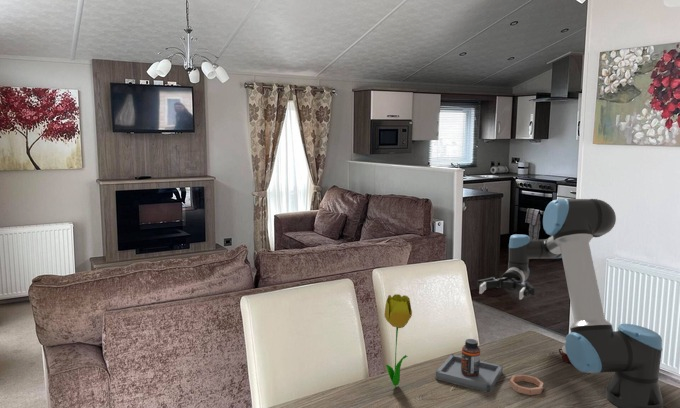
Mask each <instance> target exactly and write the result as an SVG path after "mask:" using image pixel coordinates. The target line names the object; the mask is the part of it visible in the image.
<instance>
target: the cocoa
mask: <svg viewBox="0 0 680 408" xmlns="http://www.w3.org/2000/svg"><path fill="white" fill-rule="evenodd" d="M558 352H559V354H560V355H561V357H562V359H563V360H564V362H565V363H568V364H572V363H571V362H570V360H569V358H568V356H567V353H566V349H565V344H564V345H563V346H562V348H559V349H558Z"/></svg>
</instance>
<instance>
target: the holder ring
mask: <svg viewBox="0 0 680 408" xmlns="http://www.w3.org/2000/svg"><path fill="white" fill-rule="evenodd" d="M518 382H528V383H532V384H534V385H535V386H537V387H526V386H522V385H519V384H518ZM509 387H510V388H511V389H512V390H514V391H515V392H517V393H520V394H524V395H529V396H534V395H540V394H542V393H543V390H544V382H543V381H542V380H540V379H539V378H538V377H536V376H533V375H532V376H531V375H528V374H517V375H512V376H511V378H510V379H509Z"/></svg>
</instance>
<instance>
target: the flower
mask: <svg viewBox="0 0 680 408" xmlns="http://www.w3.org/2000/svg"><path fill="white" fill-rule="evenodd" d="M386 298H387V299H386V301H385V307H384V318H385V320H386V322H388V324H389V325H391V326H392V327H394V328H396V329H395V348H397V346H398V345H397V344H398V333H399V329H403V328H405V326H407V324H409V321H410V319H411V318H412V316H413V309H412V305H411V300H410V298H409V296H408V295H406V294H405V295H401V294H400V293H399V294H394V295H391V294H389V295H388V296H387V297H386ZM394 355H395V356H394V369H393V367H392V366H390V365H389V364H386V365H385V367H386V368H387V373H388V375H389V377H390V380H391V383H392V385H393V386H394V387H395V388H396V387H397V386H398V385H399V384H400V381H401V379H400V378H401V366H402V363H403V360H405V359H406V358H407V357H408V355H406V354H405V355H404V356H402V358H401V359H399V361H398V362H397V350H395V354H394Z"/></svg>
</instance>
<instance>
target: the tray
mask: <svg viewBox="0 0 680 408" xmlns="http://www.w3.org/2000/svg"><path fill="white" fill-rule="evenodd" d="M461 361H462V355H457V354H453V353H451V354H450V355H449V356H448V357H447V359H445V360H444V362H443V363H442V364H441V365H440V367H439V368H437V370H436V371H435V380H439V381H442V382H447V383H449V384H455V385H458V386H460V387H461V386H462V387H464V388H469V389H473V390H478V391H481V392H486V393H488V394H490V393H492V391H493V389H494V388H495V386H496V384H497V383H498V381H499V379H500V377H501V376H502V374H503V370H504V368H503V367H504V366H503V365H499V364H496V363H491V362H488V361H483V360H480V366H479V374H478V375H477V376H467V375H465V374H463V373H462V372H461Z"/></svg>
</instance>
